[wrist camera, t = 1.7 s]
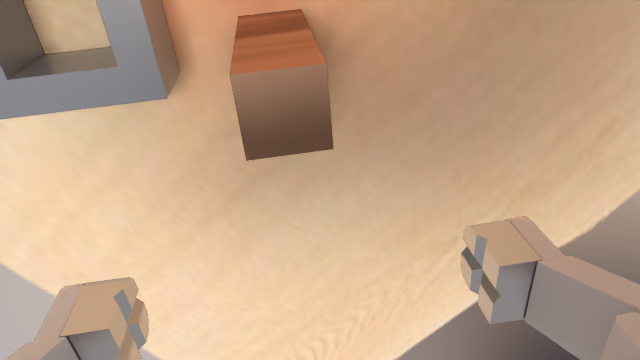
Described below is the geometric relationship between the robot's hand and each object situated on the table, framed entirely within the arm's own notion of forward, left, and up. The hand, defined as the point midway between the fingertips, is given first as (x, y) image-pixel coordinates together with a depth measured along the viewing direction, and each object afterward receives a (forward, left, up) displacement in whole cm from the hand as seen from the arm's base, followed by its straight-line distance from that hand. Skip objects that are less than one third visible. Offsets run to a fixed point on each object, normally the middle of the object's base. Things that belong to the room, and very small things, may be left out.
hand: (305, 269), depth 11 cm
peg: (0, 0, -22) cm, 22 cm away
